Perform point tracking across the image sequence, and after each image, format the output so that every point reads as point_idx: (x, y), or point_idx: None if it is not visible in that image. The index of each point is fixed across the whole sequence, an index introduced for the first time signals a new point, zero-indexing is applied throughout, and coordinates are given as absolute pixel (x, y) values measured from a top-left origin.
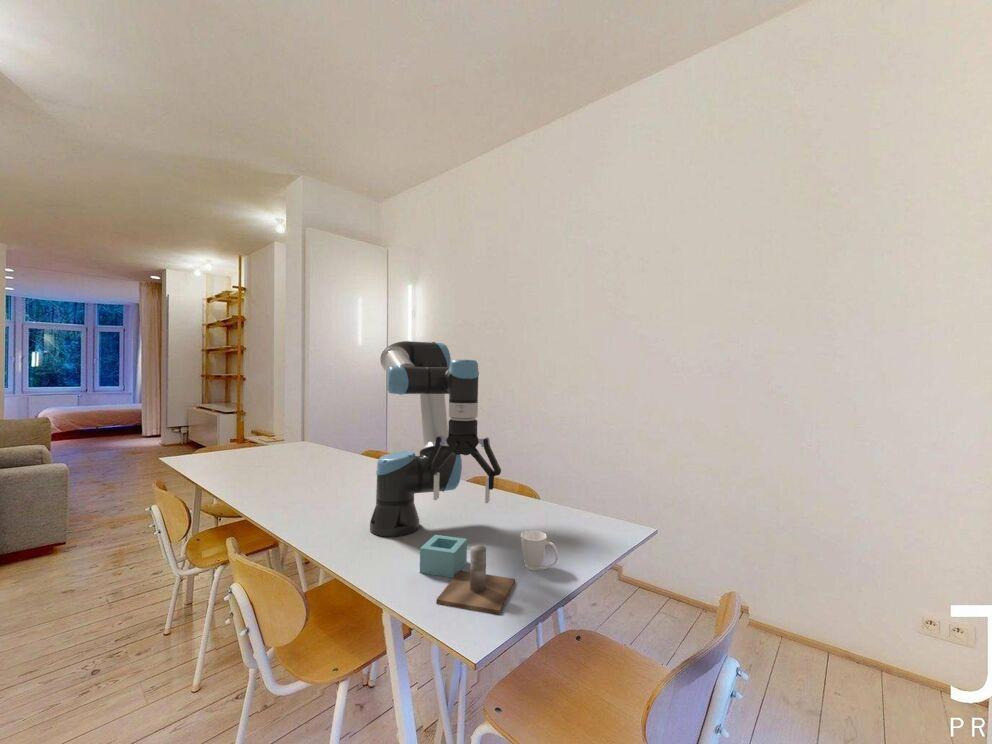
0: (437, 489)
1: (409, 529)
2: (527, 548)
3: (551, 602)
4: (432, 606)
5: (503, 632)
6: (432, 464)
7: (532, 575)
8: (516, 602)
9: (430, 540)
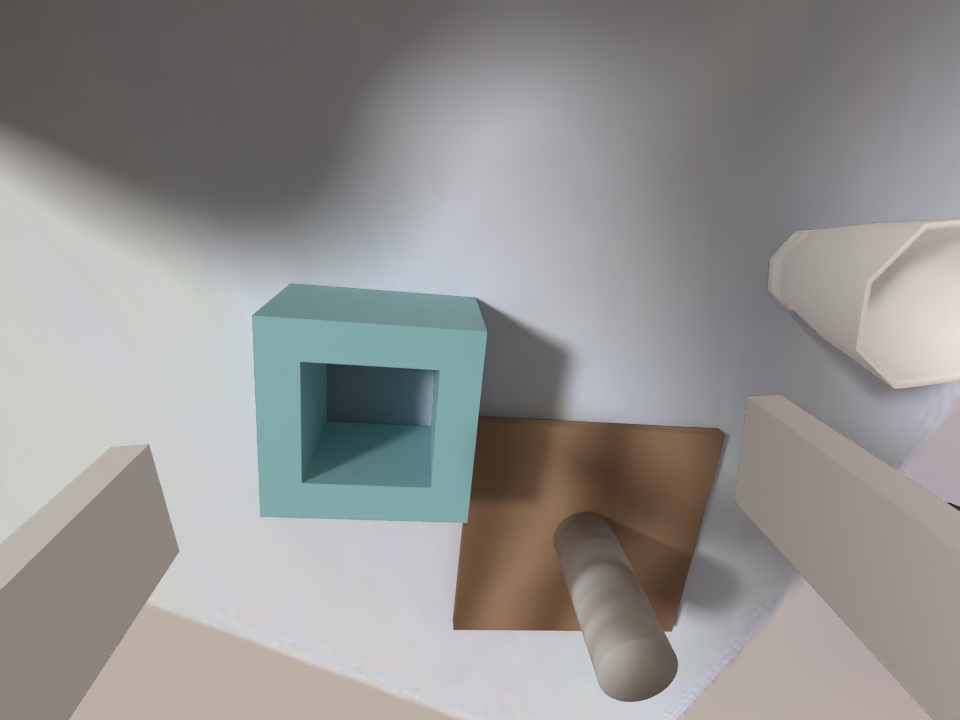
0: (102, 600)
1: None
2: (850, 355)
3: None
4: (446, 635)
5: (681, 683)
6: None
7: (794, 356)
8: (719, 552)
9: (268, 411)
